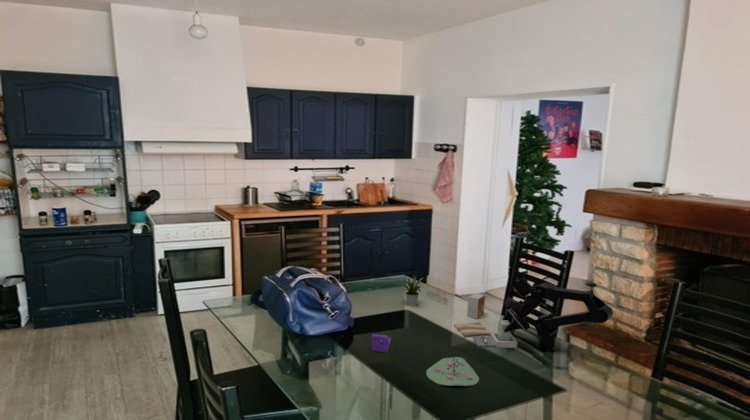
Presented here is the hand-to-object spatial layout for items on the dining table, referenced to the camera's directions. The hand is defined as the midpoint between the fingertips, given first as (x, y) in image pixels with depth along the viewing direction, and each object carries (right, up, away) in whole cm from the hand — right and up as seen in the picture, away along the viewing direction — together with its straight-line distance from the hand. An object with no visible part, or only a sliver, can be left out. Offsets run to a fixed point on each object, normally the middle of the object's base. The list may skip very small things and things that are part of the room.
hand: (502, 328), depth 218 cm
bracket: (-53, -6, -5) cm, 54 cm away
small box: (-5, -1, +32) cm, 33 cm away
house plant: (-38, +2, +45) cm, 59 cm away
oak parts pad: (-11, -4, +13) cm, 18 cm away
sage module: (+1, -7, +1) cm, 7 cm away
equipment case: (-3, -6, +1) cm, 7 cm away
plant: (-26, -11, -26) cm, 38 cm away
